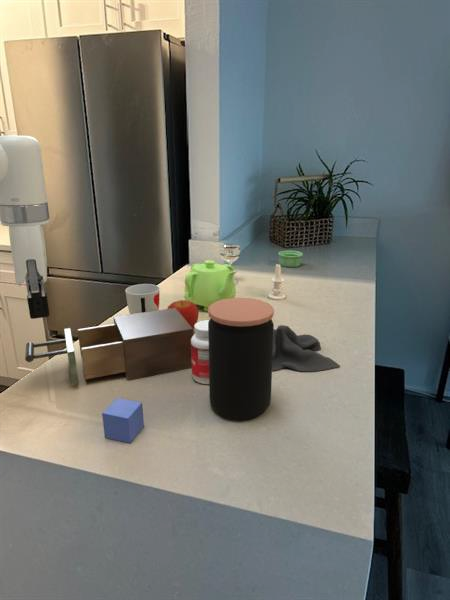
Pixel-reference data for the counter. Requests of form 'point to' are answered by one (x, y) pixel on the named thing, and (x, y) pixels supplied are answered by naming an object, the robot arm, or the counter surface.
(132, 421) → the matte blue cube
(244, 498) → the counter surface
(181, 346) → the cabinet
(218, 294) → the teapot
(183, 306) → the apple
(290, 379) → the counter surface
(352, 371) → the counter surface
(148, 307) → the cup
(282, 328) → the cloth
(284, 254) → the ramekin
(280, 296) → the cream tower figurine
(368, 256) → the counter surface
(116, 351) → the brown drawer with handle
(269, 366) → the coffee jar
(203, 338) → the pill bottle
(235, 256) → the wineglass
